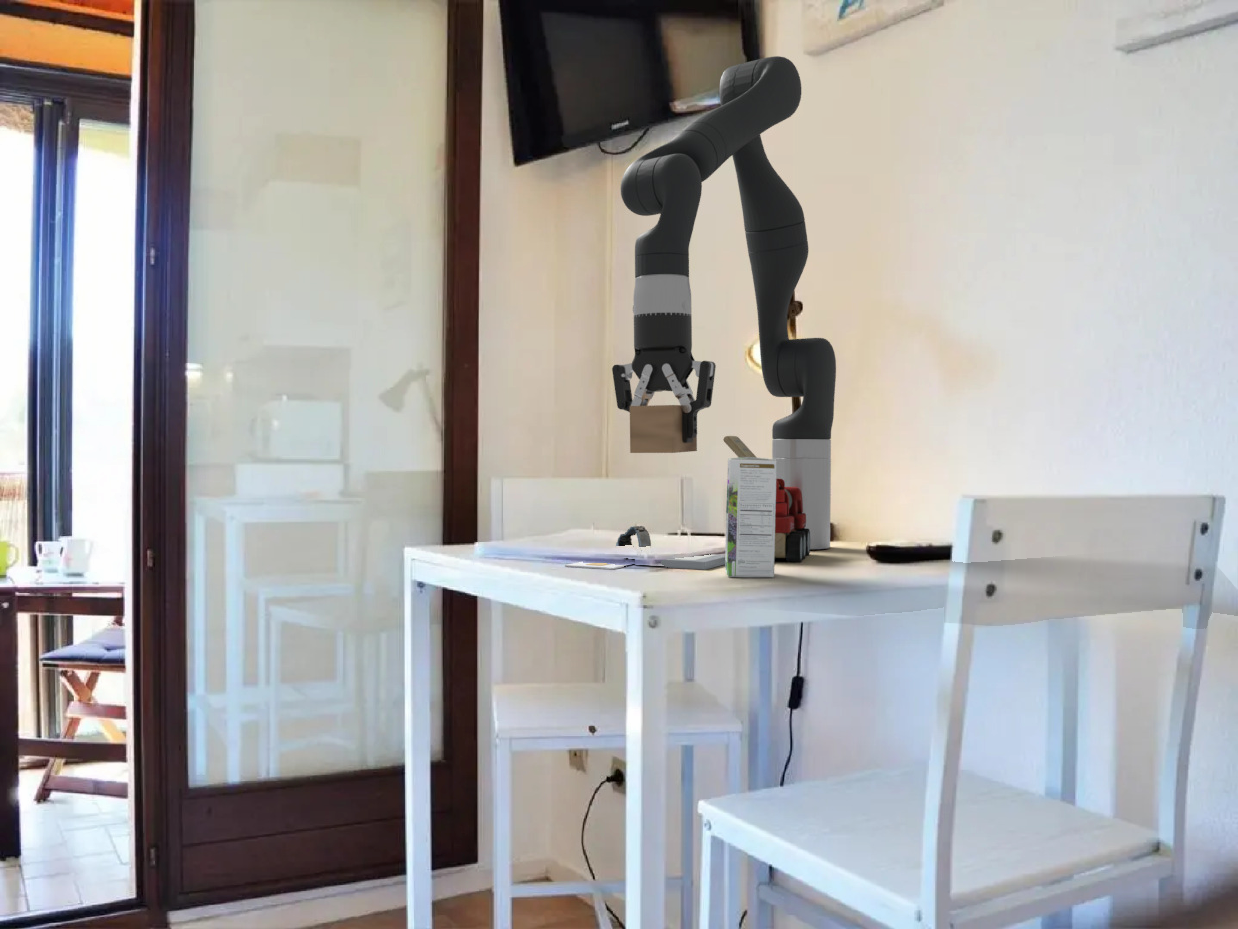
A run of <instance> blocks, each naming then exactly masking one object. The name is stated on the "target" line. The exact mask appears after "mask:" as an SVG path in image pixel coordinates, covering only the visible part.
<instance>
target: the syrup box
mask: <svg viewBox="0 0 1238 929" xmlns="http://www.w3.org/2000/svg"><path fill="white" fill-rule="evenodd" d="M726 480H727V481H726V482H727V483H726V487H727V488H726V510H725V512H726V513H725V552H724V553H725V554H724V555H725V565H724V570H725V573H726V576H728V578H775V560H776V558H775V511H776V459H772V458H765V457H757V458H755V457H738V456H736V457H729V458H728V459H727V479H726Z"/></svg>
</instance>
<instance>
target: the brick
mask: <svg viewBox="0 0 1238 929" xmlns="http://www.w3.org/2000/svg"><path fill="white" fill-rule="evenodd" d="M682 414H684V411H683V409H682V405H680V404H659V405H658V404H657V405H656V404H655V405H647V406H630V412H629V449H630V450H629V453H631V454H663V453H664V454H673V453H674V454H676V453H689V452H691V453H692V452H698V442H697V441H698V438H697V437H698V435H697V436H696V438H693V442H690V443H683V441H682Z"/></svg>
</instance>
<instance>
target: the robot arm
mask: <svg viewBox="0 0 1238 929" xmlns="http://www.w3.org/2000/svg"><path fill="white" fill-rule="evenodd" d="M718 93H719V104H720V106H718V107H715V108H714V109H712V110H710V111H708V112H705V113H704V114H702V115H700V116H699V117H697V118H696V119H694V120H692V122H690V123H688V125H687V126H685V127H684V128H683V129H682V130H681V131H680V132H679V133H678V134H676V135H675V136H674V138H672V139H671V140H670V141H668V142H667V143H664V144H663V145H660V146H659V147H656V148H654V149H653V150H651V151H649V152H647V153H645V154H643V155H642V156H640V157H638V158H637V159H635V161H633V162H632V163H631V164H630V165H628V167H627V168H626V170H625V171H624V173H623V175H622V178H621V181H620V182H621V183H620V196H621V199H622V201H623V204H624V206H626V208H627V209H628V210H629V211H630V212H632V213H634V214H635V215H638V216H642V217H644V216H645V217H648V216H649V217H650V216H655V215H659V219H658V220H657V223H656V224H655V226H653V227H652V228H651V229H649V230H646V231H644V232H643V233H641V234H640V235H639V236H638V237H636V240H635V244H634V278H635V279H634V288H633V289H634V290H633V299H632V300H633V305H632V313H633V349H634V357H633V360H632V362H631V363H626V364H614V365H613V366H612V368H611V371H612V379H613V384H614V391H615V392H614V393H615V398H616V406H617V408H618V409H619V410H623V411H626V412H628V413H630V406H649V403H650V401H651V400H652V398H653V396H654V395H655V393H656V392H657V393H658V392H660V393H661V392H663V391H664V392H673V395H674V397H675V398H676V399H677V401H678V403H679V405H682V409H683V411H684V414H682V441H683V443H690V442H693V438H696V436H697V437H698V413H699V412H700V411H702V410H704V409H706V408H707V409H709V408H710V407H711V405H712V401H713V400H712V399H713V390H714V384H715V376H716V363H715V362H714V361H712V360H710V361H709V360H703V361H702V360H701V361H699V360H695V358H694V356H693V353H692V348H693V338H692V336H693V334H692V333H693V332H692V331H693V329H692V328H693V327H692V323H693V322H692V316H693V315H692V292H691V284H690V252H689V251H690V250H689V249H690V243H691V239H692V234H693V232H694V225H695V222H696V218H697V214H698V210H699V206H700V203H701V198H702V191H703V190H702V186H703V184H702V183H703V182H704V181H706V180H708V178H710V177H711V176H712V175H713V174H714V173H715V172H716V171H717V170H718V169H719V168H721V166H722V165H723V164H724V163H725V162H727V160H729V158H731V157H732V160H733V165H734V169H735V175H736V179H737V185H738V191H739V196H740V202H741V203H740V204H741V209H742V217H743V218H742V219H743V225H744V226H743V227H744V228H743V229H744V232H745V239H746V245H747V246H746V247H747V252H748V257H749V263H750V268H751V275H752V280H753V281H752V282H753V288H754V295H755V302H756V311H757V312H756V313H757V323H758V324H757V325H758V337H759V338H758V339H759V352H760V355H759V356H760V363H761V364H760V365H761V366H760V367H761V372H762V378H763V382H764V384H765V387H766V389H767V392H769V394H771V395H772V396H773V397H775V398H776V397H777V398H801V397H802V403H801V405H800V406H799V407H798V408H797V409H796V410H795V411H794V412H792V413H790V415H787V416H785V417H783V418H780V419H778V420H776V421H775V422H774V423H773V425H772V429H771V433H772V443H771V444H772V445H771V446H772V449H771V450H772V452H771V453H772V454H771V457H772V458H771V459H776V479H783V480H784V482H785V487H798V488H799V489H800V490H801V493H802V501H803V512H802V513H805V514H806V527H804V528H806V529H809V530H810V550H825V549H830V547H831V496H832V495H831V494H832V493H831V490H832V489H831V485H832V482H831V481H832V480H831V476H832V475H831V474H832V473H831V472H832V457H831V456H832V440H831V439H832V428H833V423H834V414H835V413H834V411H835V394H836V393H835V391H836V376H837V364H836V363H837V359H836V354H835V350H834V348H833V345H832V344H831V342H830V341H829V340H828V339H826V338H823V337H807V338H805V337H804V338H791V339H790V337H789V332H788V314H789V313H788V312H789V307H790V303H791V299H792V297H793V295H794V292H795V290H796V288H797V285H798V283H799V281H800V279H801V277H802V274H803V271H804V269H805V267H806V264H807V261H808V257H809V243H808V235H807V228H806V227H807V226H806V221H805V220H806V219H805V215H804V211H803V208H802V205H801V203H800V202H799V199H798V198H797V197H796V195H795V193H794V192H793V191H792V189H791V188H790V187H789V186H788V185H787V183H786V182H785V181H784V179H782V177H781V176H780V175H779V174H778V172H777V171H776V169H775V168H774V167H773V165H772V164H771V162H770V160H769V159H768V156H767V153H766V150H765V146H764V144H763V141H762V137H761V134H762V133H764V132H765V131H767V130H769V129H770V128H772V127H773V126H775V125H778V124H779V123H782V122H783V121H785V120H787V119H790V118H791V117H792V116H793V115H794V114H795V113H796V111H797V109H798V107H799V106H800V102H801V98H802V81H801V77H800V73H799V71H798V68H797V66H795V64H794V63H793V61H792V60H790V59H789V58H787V57H785V56H779V55H777V56H767V57H764V58H763V57H762V58H758V59H756V60H751V61H747V62H744V63H740V64H735V65H731V66H729V67H727V68H726V69H725V70H724V71H723V73H722V75H721V77H720V81H719V92H718ZM693 371H694V372H695V376H696V377H697V378H698V379H697V388H696V397H694V393H693V390H692V387H691V386H690V384H689V381H688V378H689V377H690V375H691V374H692V372H693ZM633 373H634V374H635V376H637V378H638V380H639V381H638V383H637V386H636V388H635V390H634V393H632V389H631V388H632V387H631V381H630V380H632V378H633ZM633 394H634V397H633Z"/></svg>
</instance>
